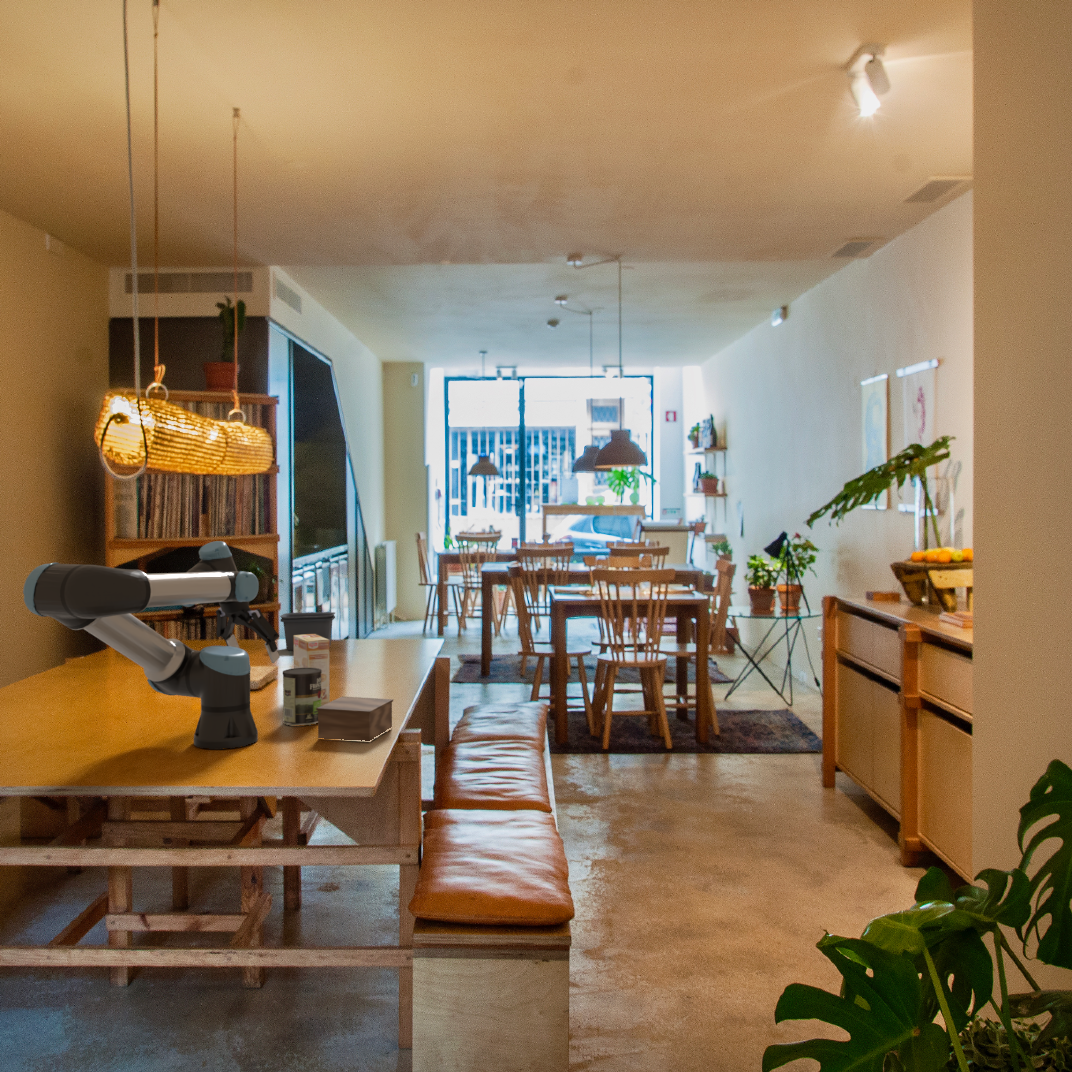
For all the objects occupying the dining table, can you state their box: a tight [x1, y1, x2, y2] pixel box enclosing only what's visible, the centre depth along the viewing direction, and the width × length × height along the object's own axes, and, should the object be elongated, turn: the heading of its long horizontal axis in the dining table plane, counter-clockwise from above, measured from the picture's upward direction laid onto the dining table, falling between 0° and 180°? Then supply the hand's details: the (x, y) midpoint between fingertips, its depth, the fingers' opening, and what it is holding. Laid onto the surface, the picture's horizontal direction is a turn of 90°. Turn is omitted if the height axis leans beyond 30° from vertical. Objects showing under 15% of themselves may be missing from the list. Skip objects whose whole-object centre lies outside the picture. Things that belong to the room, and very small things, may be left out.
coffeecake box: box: [293, 634, 331, 706], centre depth 277 cm, size 15×7×20 cm, turn 30°
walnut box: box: [316, 696, 394, 741], centre depth 238 cm, size 15×15×8 cm
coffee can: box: [282, 667, 322, 726], centre depth 252 cm, size 10×10×14 cm
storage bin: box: [279, 611, 336, 651], centre depth 379 cm, size 21×16×14 cm
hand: (256, 658), depth 261 cm, fingers open, 13 cm apart
